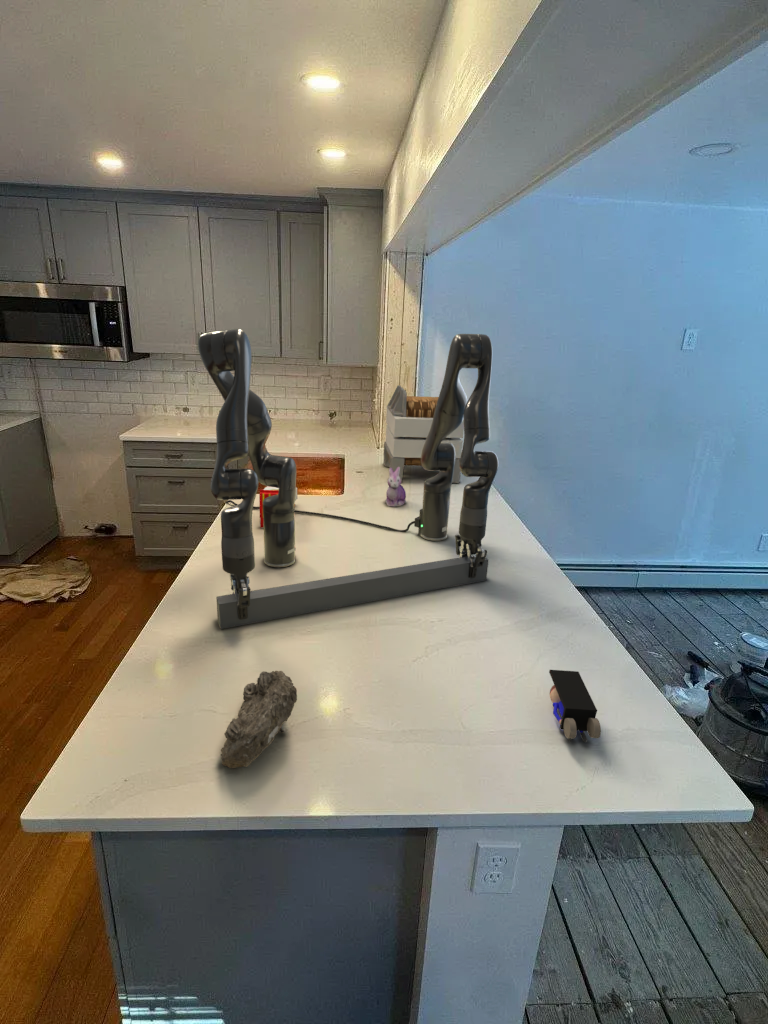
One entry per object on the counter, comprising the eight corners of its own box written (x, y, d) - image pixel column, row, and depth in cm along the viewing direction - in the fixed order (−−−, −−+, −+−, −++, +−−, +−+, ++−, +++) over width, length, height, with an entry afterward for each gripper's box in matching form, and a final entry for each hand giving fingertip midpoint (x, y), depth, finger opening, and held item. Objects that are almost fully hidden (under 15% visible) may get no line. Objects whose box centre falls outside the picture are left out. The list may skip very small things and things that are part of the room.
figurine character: (598, 755, 105) (572, 695, 118) (607, 725, 101) (580, 667, 115) (562, 754, 104) (541, 694, 118) (570, 724, 101) (547, 666, 114)
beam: (478, 574, 172) (480, 554, 169) (486, 580, 168) (488, 559, 166) (217, 620, 141) (216, 596, 138) (220, 629, 137) (219, 604, 135)
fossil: (239, 671, 114) (294, 639, 110) (270, 702, 117) (325, 672, 112) (196, 762, 95) (261, 727, 90) (236, 796, 98) (300, 764, 93)
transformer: (382, 463, 289) (386, 382, 275) (445, 464, 293) (451, 384, 279) (390, 482, 257) (394, 392, 243) (460, 483, 261) (468, 394, 247)
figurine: (390, 508, 224) (392, 471, 219) (379, 500, 233) (380, 465, 228) (411, 505, 229) (413, 469, 223) (399, 498, 237) (401, 463, 232)
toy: (299, 478, 224) (289, 491, 195) (299, 512, 227) (289, 529, 198) (268, 478, 224) (253, 490, 194) (268, 511, 226) (254, 528, 197)
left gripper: (216, 541, 139) (220, 603, 145) (227, 564, 127) (231, 631, 133) (247, 537, 142) (250, 598, 148) (260, 560, 130) (262, 625, 136)
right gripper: (449, 513, 166) (444, 566, 172) (475, 530, 154) (469, 586, 160) (470, 510, 169) (465, 562, 175) (498, 527, 157) (492, 582, 163)
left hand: (241, 613), depth 140 cm, fingers closed on beam, 4 cm apart
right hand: (467, 573), depth 167 cm, fingers closed on beam, 4 cm apart
